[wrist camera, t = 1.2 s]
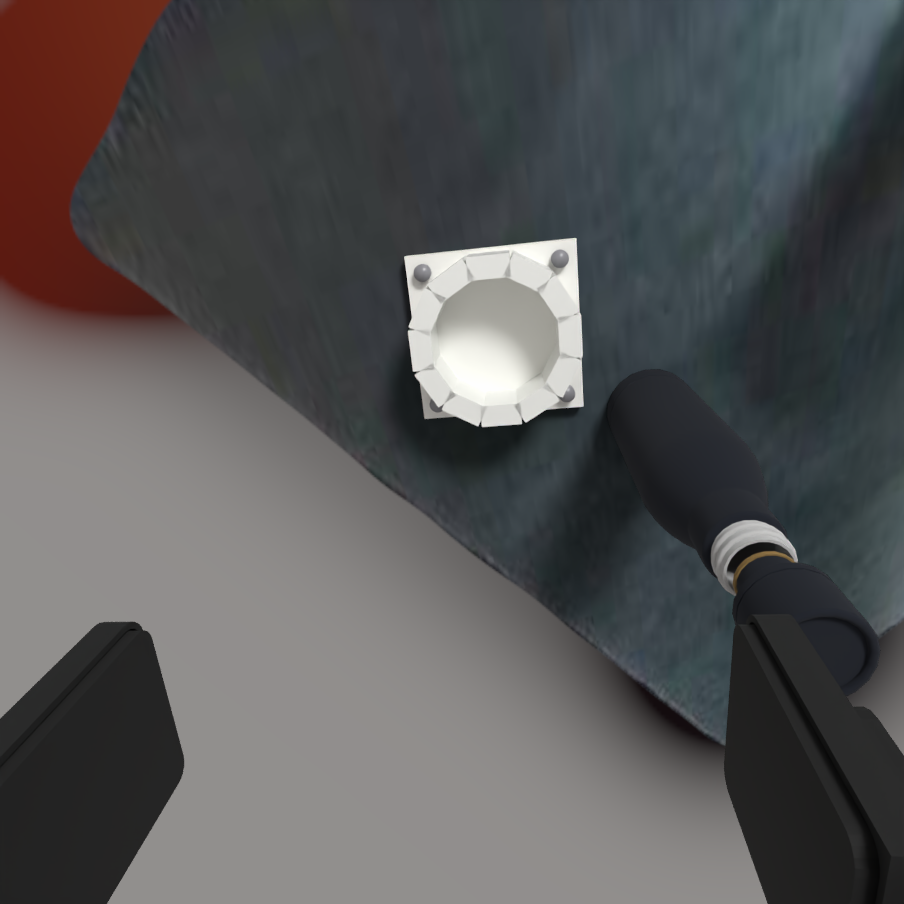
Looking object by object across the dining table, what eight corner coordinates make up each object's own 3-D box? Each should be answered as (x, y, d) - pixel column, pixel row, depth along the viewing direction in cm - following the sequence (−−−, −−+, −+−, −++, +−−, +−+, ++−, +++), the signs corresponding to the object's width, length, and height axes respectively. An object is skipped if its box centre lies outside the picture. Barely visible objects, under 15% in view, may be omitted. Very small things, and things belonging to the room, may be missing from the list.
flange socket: (574, 237, 47) (581, 241, 42) (582, 402, 51) (589, 422, 46) (406, 255, 48) (395, 260, 44) (426, 415, 52) (417, 435, 48)
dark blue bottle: (702, 374, 49) (953, 590, 21) (682, 455, 52) (886, 748, 24) (615, 363, 50) (749, 562, 22) (599, 444, 52) (702, 721, 24)
